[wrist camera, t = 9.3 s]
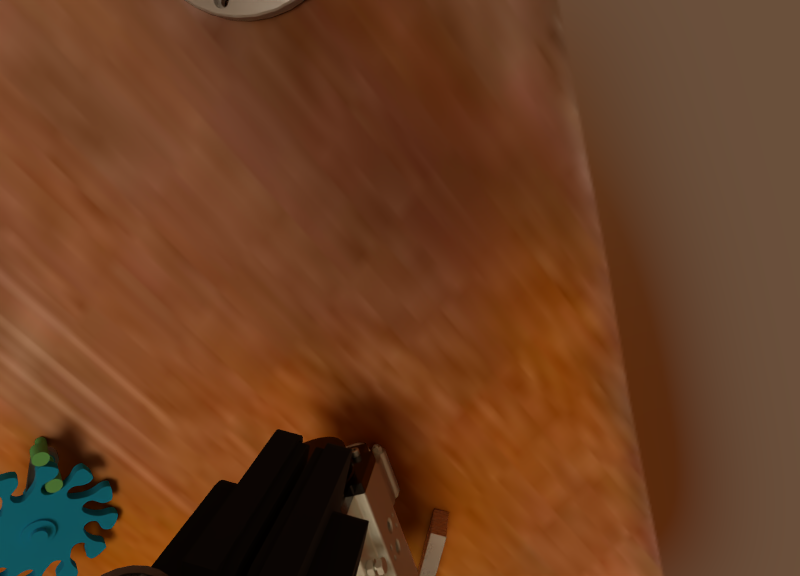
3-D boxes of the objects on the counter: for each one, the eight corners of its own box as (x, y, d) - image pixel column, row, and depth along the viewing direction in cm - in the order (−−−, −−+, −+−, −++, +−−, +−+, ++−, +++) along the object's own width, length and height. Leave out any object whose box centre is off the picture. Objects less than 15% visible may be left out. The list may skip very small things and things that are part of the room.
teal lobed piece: (108, 584, 42) (-65, 624, 35) (93, 538, 46) (-62, 565, 40) (132, 448, 40) (-44, 464, 34) (115, 414, 45) (-44, 421, 38)
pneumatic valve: (366, 549, 39) (318, 715, 28) (309, 403, 37) (231, 518, 26) (440, 535, 38) (422, 702, 27) (386, 383, 36) (340, 494, 25)
